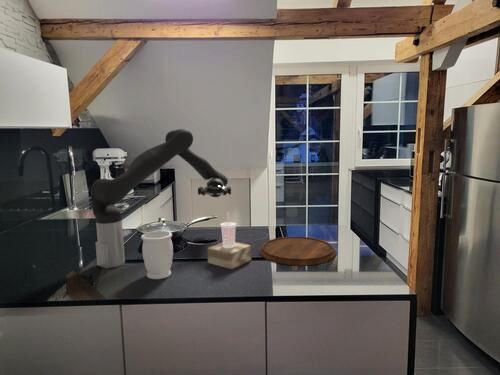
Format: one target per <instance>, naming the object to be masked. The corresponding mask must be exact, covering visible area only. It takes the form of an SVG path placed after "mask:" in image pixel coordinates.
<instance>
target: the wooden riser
mask: <svg viewBox="0 0 500 375" xmlns="http://www.w3.org/2000/svg"><path fill="white" fill-rule="evenodd" d="M250 261H252V245H251V244H247V243H242V242H238V241H237V242H236V241H235V247H233V248H224V247H223V241H222V242H219V243H216V244H215V245H212V246H208V247H207V263H208V264H211V265H215V266H217V267H218V266H219V267H221V268H222V267H223V268H226V269H230V270H234V269H235V268H238V267H240V266H242V265H243V264H246V263H247V262H248V263H249V262H250Z"/></svg>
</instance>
